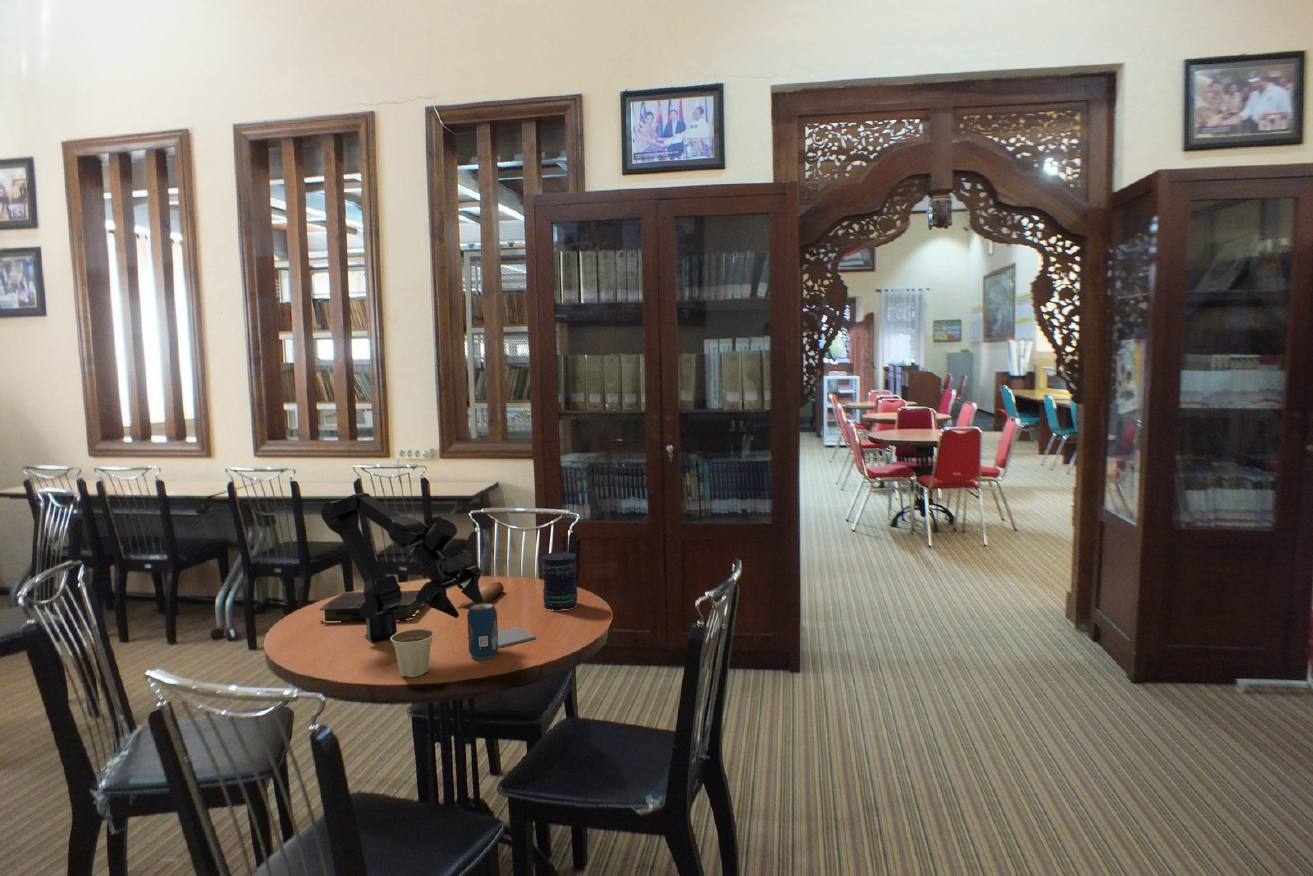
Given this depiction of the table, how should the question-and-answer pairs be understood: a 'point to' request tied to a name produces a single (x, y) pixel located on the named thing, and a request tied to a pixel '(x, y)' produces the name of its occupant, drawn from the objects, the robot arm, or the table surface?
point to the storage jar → (559, 580)
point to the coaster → (513, 636)
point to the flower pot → (412, 651)
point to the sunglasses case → (485, 594)
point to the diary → (350, 602)
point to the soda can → (482, 630)
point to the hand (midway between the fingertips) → (470, 611)
